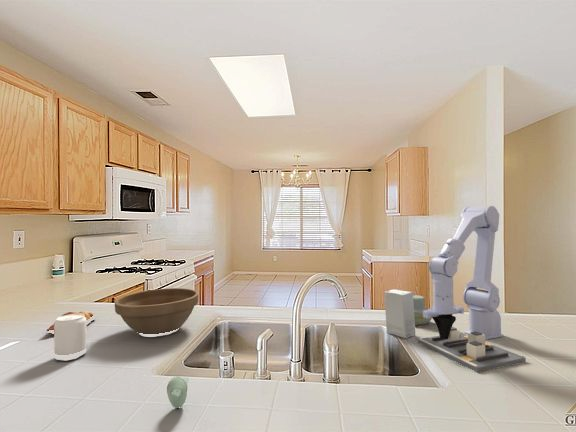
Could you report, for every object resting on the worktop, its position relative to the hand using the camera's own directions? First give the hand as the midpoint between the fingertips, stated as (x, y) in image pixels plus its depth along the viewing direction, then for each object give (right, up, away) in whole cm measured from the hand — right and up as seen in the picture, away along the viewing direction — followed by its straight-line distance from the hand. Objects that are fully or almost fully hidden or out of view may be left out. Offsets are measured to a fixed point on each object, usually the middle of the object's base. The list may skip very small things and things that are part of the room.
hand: (444, 338), depth 104 cm
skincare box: (-10, -3, +11) cm, 15 cm away
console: (+5, -2, -5) cm, 7 cm away
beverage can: (-115, -4, -5) cm, 115 cm away
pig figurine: (-73, -3, -33) cm, 80 cm away
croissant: (-131, -5, +22) cm, 133 cm away
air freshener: (0, -3, +23) cm, 24 cm away
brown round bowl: (-97, -4, +17) cm, 98 cm away
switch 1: (+3, -1, +1) cm, 3 cm away
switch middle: (+8, -1, -3) cm, 9 cm away
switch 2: (+4, -1, -11) cm, 12 cm away
